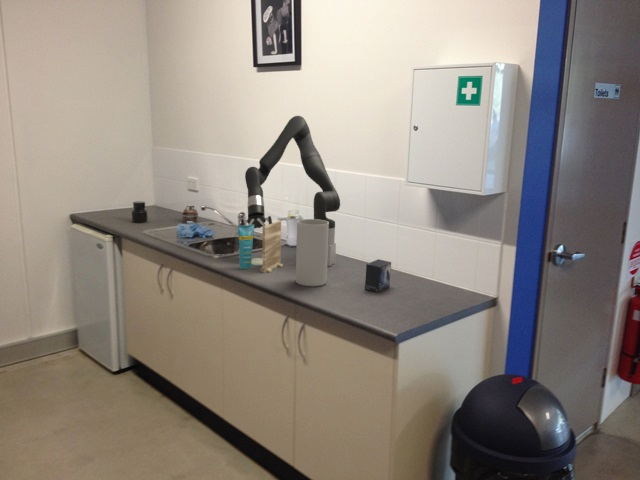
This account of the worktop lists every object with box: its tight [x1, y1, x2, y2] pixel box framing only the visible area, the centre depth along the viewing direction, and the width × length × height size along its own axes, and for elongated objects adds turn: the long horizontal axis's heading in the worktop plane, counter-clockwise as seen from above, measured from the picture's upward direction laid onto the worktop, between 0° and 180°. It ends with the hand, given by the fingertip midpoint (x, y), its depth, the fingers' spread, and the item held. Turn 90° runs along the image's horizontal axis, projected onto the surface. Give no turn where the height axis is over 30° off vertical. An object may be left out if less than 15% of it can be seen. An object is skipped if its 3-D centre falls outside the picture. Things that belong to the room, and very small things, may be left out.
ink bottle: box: [131, 200, 148, 224], centre depth 345 cm, size 10×9×12 cm
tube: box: [237, 224, 255, 270], centre depth 249 cm, size 7×5×19 cm, turn 123°
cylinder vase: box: [295, 218, 329, 287], centre depth 230 cm, size 12×12×25 cm
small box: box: [364, 259, 392, 293], centre depth 227 cm, size 11×6×10 cm, turn 148°
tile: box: [251, 257, 262, 267], centre depth 261 cm, size 11×11×1 cm
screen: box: [259, 220, 284, 274], centre depth 249 cm, size 5×14×20 cm, turn 155°
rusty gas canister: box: [181, 205, 199, 224], centre depth 349 cm, size 10×10×10 cm
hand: (257, 239), depth 256 cm, fingers open, 8 cm apart
